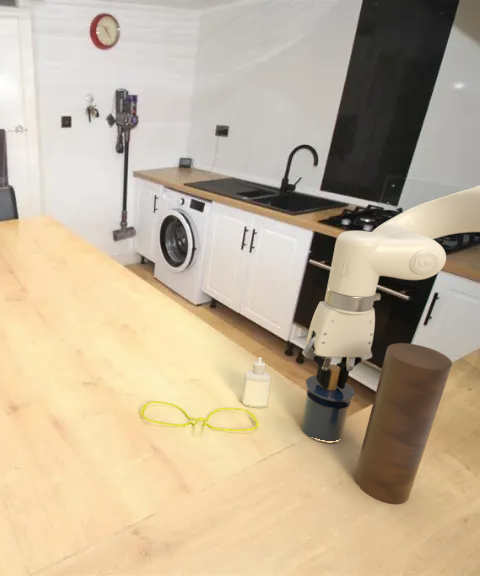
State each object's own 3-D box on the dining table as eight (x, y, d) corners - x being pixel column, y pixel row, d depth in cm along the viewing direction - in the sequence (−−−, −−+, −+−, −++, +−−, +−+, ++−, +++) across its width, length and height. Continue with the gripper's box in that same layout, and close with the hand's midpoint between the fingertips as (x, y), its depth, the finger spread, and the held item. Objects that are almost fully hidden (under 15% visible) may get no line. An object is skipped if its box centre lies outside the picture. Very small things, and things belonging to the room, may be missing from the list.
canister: (331, 419, 89) (338, 385, 86) (350, 444, 81) (358, 408, 78) (294, 418, 89) (300, 385, 86) (309, 443, 82) (317, 408, 79)
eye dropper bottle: (263, 413, 91) (269, 366, 87) (238, 403, 94) (243, 357, 90) (269, 403, 94) (276, 357, 90) (245, 394, 98) (251, 350, 93)
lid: (340, 377, 85) (345, 356, 84) (363, 402, 77) (369, 380, 76) (298, 376, 86) (302, 355, 84) (316, 401, 78) (321, 379, 76)
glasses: (254, 412, 91) (256, 394, 89) (263, 443, 82) (266, 424, 80) (141, 403, 95) (142, 385, 94) (138, 431, 86) (139, 412, 84)
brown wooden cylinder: (390, 468, 75) (427, 343, 66) (420, 505, 68) (466, 369, 59) (345, 467, 76) (376, 342, 67) (370, 503, 68) (408, 369, 59)
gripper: (381, 292, 78) (361, 375, 84) (295, 291, 79) (281, 373, 85) (407, 307, 71) (383, 396, 77) (312, 307, 72) (296, 395, 78)
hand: (330, 384), depth 81 cm, fingers closed on lid, 2 cm apart
